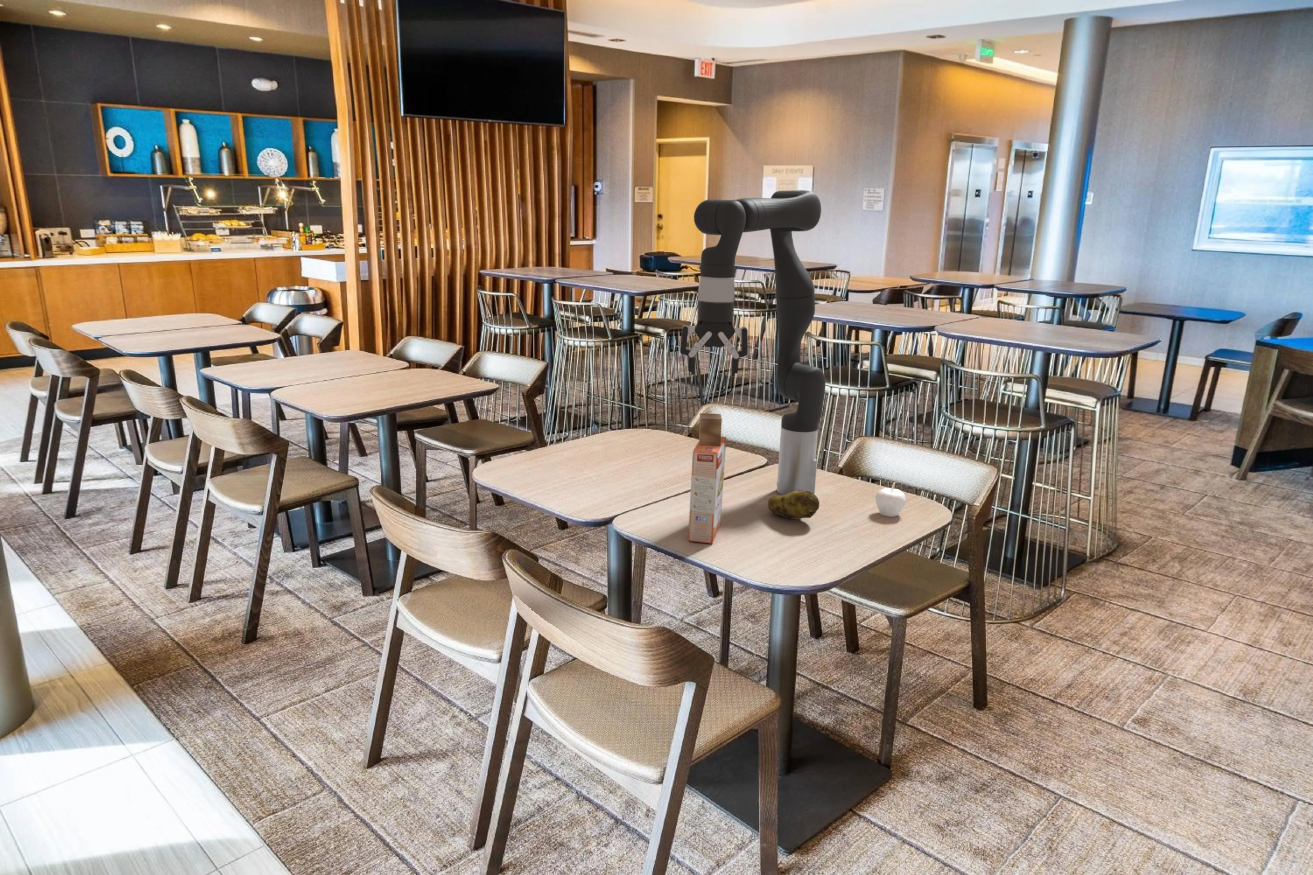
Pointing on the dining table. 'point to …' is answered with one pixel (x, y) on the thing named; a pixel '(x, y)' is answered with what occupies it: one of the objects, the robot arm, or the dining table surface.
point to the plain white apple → (890, 501)
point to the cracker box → (706, 492)
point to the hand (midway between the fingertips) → (712, 374)
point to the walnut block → (710, 429)
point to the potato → (794, 504)
